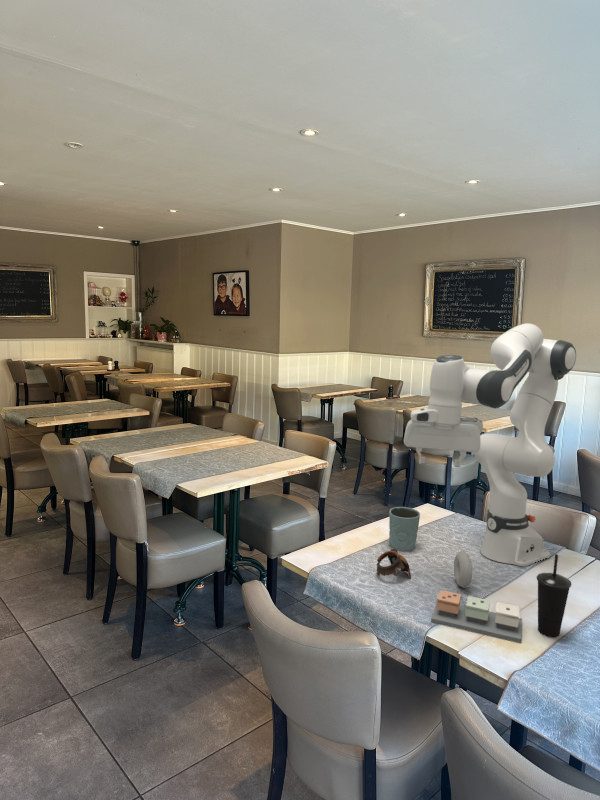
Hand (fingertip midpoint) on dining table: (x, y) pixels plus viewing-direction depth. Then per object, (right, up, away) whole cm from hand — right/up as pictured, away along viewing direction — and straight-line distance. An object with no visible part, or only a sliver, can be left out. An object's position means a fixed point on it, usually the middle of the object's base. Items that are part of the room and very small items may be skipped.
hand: (439, 465), depth 152 cm
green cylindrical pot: (-4, -31, +33) cm, 45 cm away
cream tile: (+13, -36, -15) cm, 41 cm away
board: (+6, -38, -12) cm, 40 cm away
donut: (+8, -35, +6) cm, 37 cm away
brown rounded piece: (-11, -34, +12) cm, 38 cm away
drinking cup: (+23, -39, -16) cm, 48 cm away
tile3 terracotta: (0, -35, -10) cm, 36 cm away
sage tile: (+6, -36, -13) cm, 38 cm away
